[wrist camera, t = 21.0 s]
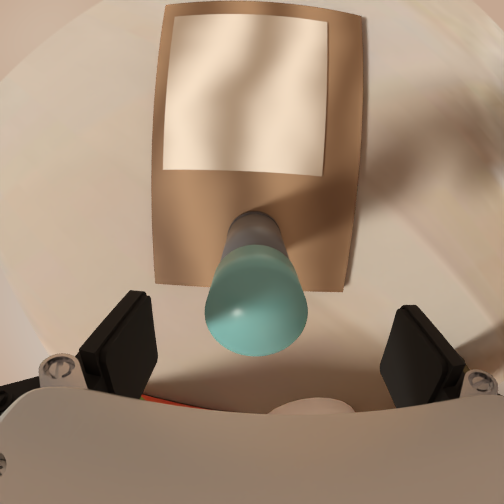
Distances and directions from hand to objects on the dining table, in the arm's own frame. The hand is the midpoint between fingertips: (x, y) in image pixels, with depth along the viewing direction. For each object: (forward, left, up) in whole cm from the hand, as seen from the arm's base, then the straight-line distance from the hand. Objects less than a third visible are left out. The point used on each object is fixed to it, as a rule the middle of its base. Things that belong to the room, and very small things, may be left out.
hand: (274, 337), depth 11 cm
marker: (+1, 0, -14) cm, 14 cm away
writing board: (+1, -8, -14) cm, 16 cm away
